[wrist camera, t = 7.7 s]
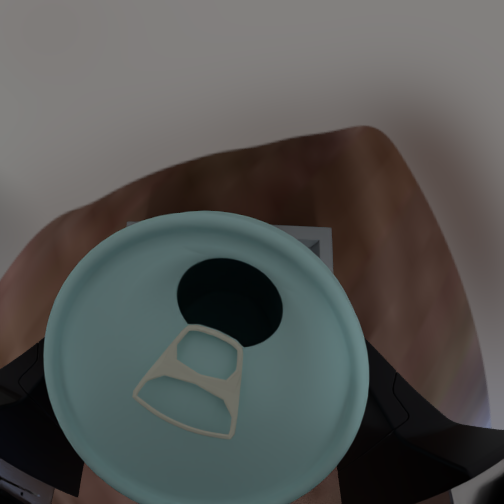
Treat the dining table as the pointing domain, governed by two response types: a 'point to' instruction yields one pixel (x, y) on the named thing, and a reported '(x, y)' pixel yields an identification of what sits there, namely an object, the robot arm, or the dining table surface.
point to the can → (206, 362)
